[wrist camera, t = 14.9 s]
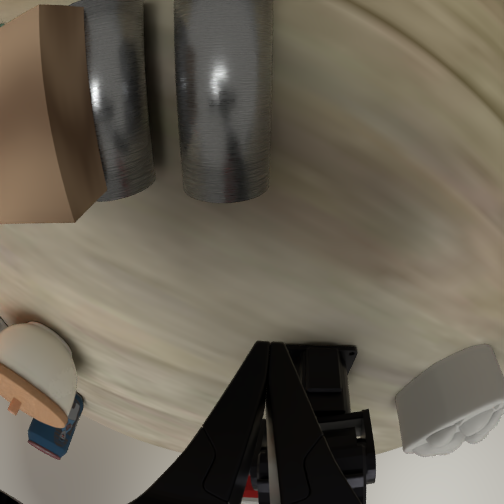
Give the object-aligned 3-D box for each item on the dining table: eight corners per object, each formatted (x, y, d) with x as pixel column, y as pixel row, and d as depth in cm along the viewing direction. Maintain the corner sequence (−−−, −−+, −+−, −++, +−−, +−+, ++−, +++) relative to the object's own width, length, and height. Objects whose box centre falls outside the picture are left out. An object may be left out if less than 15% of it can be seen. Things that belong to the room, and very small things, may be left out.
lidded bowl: (49, 302, 26) (-2, 388, 17) (109, 375, 33) (80, 451, 24) (-4, 305, 29) (-45, 368, 20) (49, 367, 36) (20, 427, 27)
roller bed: (269, 208, 18) (265, 250, 15) (-19, 208, 20) (-47, 233, 16) (274, -48, 9) (270, -78, 6) (-49, 60, 11) (-84, 73, 8)
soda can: (49, 386, 41) (25, 442, 31) (51, 374, 37) (23, 437, 28) (83, 406, 43) (62, 462, 33) (89, 396, 39) (65, 461, 30)
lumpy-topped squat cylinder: (384, 401, 31) (392, 466, 24) (462, 336, 24) (488, 412, 17) (437, 406, 32) (448, 461, 25) (507, 350, 25) (530, 410, 18)
